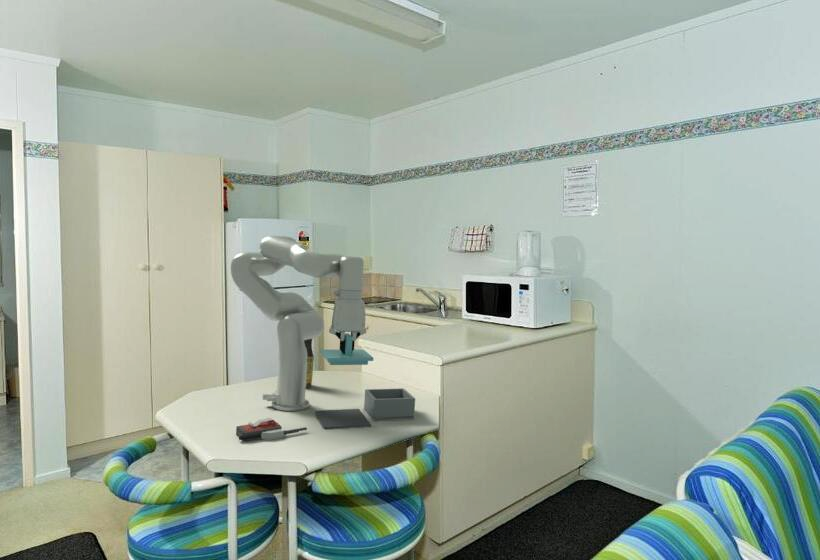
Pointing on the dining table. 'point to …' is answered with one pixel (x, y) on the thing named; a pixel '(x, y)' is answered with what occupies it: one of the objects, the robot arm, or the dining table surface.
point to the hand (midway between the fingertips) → (346, 352)
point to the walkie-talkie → (263, 430)
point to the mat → (342, 418)
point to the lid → (347, 354)
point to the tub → (389, 404)
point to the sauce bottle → (309, 361)
